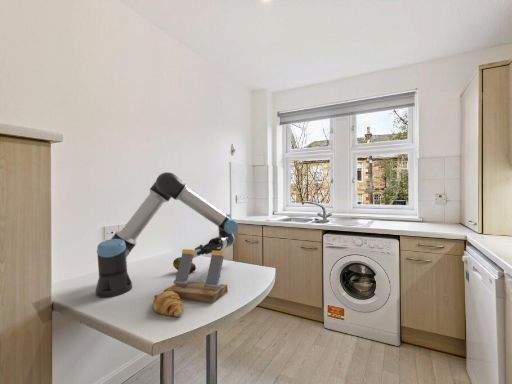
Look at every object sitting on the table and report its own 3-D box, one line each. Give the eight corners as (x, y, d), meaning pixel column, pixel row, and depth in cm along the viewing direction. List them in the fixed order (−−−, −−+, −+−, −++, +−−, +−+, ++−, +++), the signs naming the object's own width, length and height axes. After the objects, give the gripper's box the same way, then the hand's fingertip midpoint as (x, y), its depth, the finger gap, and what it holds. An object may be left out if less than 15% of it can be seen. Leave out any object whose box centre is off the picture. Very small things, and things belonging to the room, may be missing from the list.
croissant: (188, 324, 94) (197, 302, 97) (164, 321, 88) (173, 297, 90) (163, 307, 109) (170, 287, 112) (140, 303, 103) (149, 282, 106)
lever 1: (176, 284, 118) (184, 250, 125) (187, 285, 115) (196, 251, 122) (172, 283, 116) (181, 249, 123) (184, 284, 113) (193, 249, 120)
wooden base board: (182, 286, 123) (182, 279, 123) (227, 291, 114) (227, 284, 114) (164, 297, 112) (164, 289, 112) (213, 303, 103) (212, 294, 103)
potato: (185, 276, 139) (184, 261, 139) (171, 272, 147) (170, 258, 147) (197, 271, 146) (197, 257, 146) (183, 268, 154) (182, 255, 153)
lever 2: (206, 287, 112) (213, 252, 119) (219, 288, 109) (226, 252, 116) (203, 286, 110) (211, 250, 117) (216, 287, 107) (223, 250, 114)
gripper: (228, 251, 143) (203, 263, 121) (207, 250, 148) (181, 262, 126) (227, 237, 143) (202, 247, 121) (206, 237, 148) (179, 247, 126)
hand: (191, 255), depth 124 cm, fingers closed
